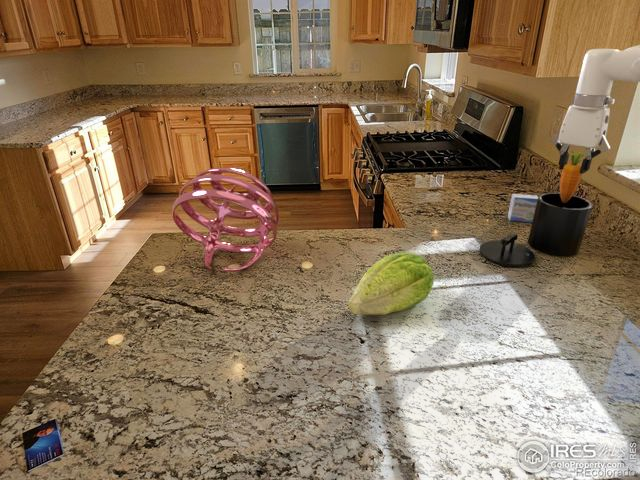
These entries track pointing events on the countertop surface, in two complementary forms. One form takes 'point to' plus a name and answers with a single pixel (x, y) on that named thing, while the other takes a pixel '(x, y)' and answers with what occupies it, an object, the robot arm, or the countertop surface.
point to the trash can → (559, 225)
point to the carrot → (570, 177)
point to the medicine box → (522, 208)
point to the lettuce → (392, 285)
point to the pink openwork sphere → (228, 213)
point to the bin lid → (507, 252)
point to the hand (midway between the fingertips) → (572, 169)
